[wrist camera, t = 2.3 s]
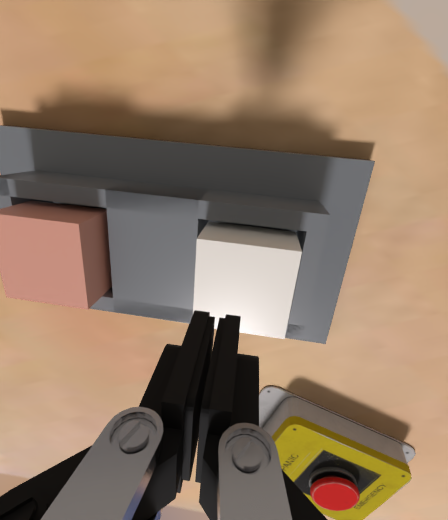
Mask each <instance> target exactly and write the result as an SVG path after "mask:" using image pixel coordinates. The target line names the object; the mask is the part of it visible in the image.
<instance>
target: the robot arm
mask: <svg viewBox="0 0 448 520" xmlns="http://www.w3.org/2000/svg"><path fill="white" fill-rule="evenodd" d="M240 319H241V316H236V315H228V314H226V316H225V318H219V322H218V327H217V332H216V336H215V341H214V346H213V336H214V324H215V317H212V316H210V312H205V311H197V310H195V311H194V313H193V316H192V318H191V321H190V324H189V327H188V329H187V332H186V335H185V338H184V340H183V343H182V346H178V345H171V344H167V345H166V346H165V348H164V350H163V352H162V355H161V357H160V359H159V362H158V364H157V366H156V368H155V371H154V373H153V375H152V378H151V380H150V382H149V384H148V387H147V389H146V391H145V394H144V396H143V398H142V400H141V403H140V405H139V407H133V408H129V409H126V410H124V411H122V412H120V413H119V414H117V415H116V416H114V417H113V418H112V419H111V421H110V422H109V423H108V424H107V425H106V427H105V428H104V430H103V431H102V433H101V434H100V435H99V437H98V438H97V440H96V441H95V443H94V444H93V445H92V446H90V447H88V448H86V449H85V450H83V451H81V452H79V453H77V454H75V455H73V456H72V457H70V458H68V459H66V460H64V461H62V462H61V463H59V464H57V465H55V466H53V467H51V468H50V469H48V470H46V471H44V472H42V473H40V474H39V475H37V476H35V477H33V478H31V479H29V480H28V481H26V482H24V483H22V484H20V485H18V486H17V487H15V488H13V489H11V490H10V491H8V492H7V493H5V494H4V495H2V496H1V497H0V520H160V517H161V514H162V510H163V507H165V506H166V505H167V504H169V503H170V502H171V501H173V500H174V499H175V498H176V493H180V491H181V487H182V482H183V480H187V481H190V477H191V473H192V467H193V462H194V457H195V452H196V447H197V442H198V452H197V466H196V480H195V482H199V483H201V486H200V498H199V503H200V505H201V506H202V508H203V509H204V511H205V513H206V514H207V516H208V518H209V519H210V520H327V519H326V518H325V516H324V515H323V514H322V513H321V512H320V511H319V510H318V509H317V508H316V506H315V505H314V504H313V503H312V502H311V501H310V500H309V499H308V498H307V497H306V495H305V494H304V493H303V492H302V491H301V490H300V489H299V488H298V487H297V485H296V484H295V483H294V482H293V481H292V480H291V479H290V478H289V477H288V475H287V474H286V473H285V472H284V471H283V470H282V469H281V464H280V460H279V455H278V450H277V447H276V445H275V442H274V440H273V439H272V437H271V436H270V435H269V433H267V432H266V431H265V430H264V429H262V428H261V427H259V357H258V356H251V355H244V354H237V352H238V341H239V330H240ZM212 348H213V351H212ZM198 437H199V438H198Z"/></svg>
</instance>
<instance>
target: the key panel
mask: <svg viewBox="0 0 448 520" xmlns="http://www.w3.org/2000/svg"><path fill="white" fill-rule="evenodd" d="M374 162H375V161H371V160H363V159H353V158H342V157H332V156H321V155H311V154H300V153H290V152H279V151H269V150H258V149H248V148H237V147H227V146H216V145H206V144H195V143H185V142H174V141H163V140H153V139H142V138H132V137H121V136H111V135H100V134H90V133H79V132H69V131H58V130H48V129H37V128H27V127H16V126H6V125H0V173H1V175H0V209H2V208H5V207H9V206H13V205H17V204H20V203H24V202H28V201H41V202H49V203H58V204H66V205H74V206H83V207H91V208H100V209H107V221H108V235H109V249H110V263H111V276H112V287H111V288H110V289H109V290H108V291H107V292H106V293H105V294H104V295H103V296H102V297H101V298H100V299H99V300H98V301H97V302H95V303H94V304H93V305H92V306H91V307H90V309H96V310H103V311H110V312H116V313H123V314H130V315H136V316H143V317H150V318H156V319H163V320H169V321H176V322H183V323H189V324H190V321H191V318H192V316H193V302H194V282H195V262H196V242H197V237H198V236H199V235H200V233H201V232H202V230H203V229H204V227H205V226H206V224H207V223H208V222H209V221H210V222H218V223H227V224H235V225H244V226H252V227H260V228H269V229H277V230H286V231H294V232H296V234H297V237H298V240H299V244H300V247H301V250H302V254H301V259H300V264H299V269H298V274H297V279H296V284H295V289H294V294H293V299H292V304H291V309H290V314H289V319H288V324H287V329H286V334H285V338H289V339H296V340H303V341H309V342H316V343H323V344H326V340H327V336H328V333H329V329H330V325H331V322H332V318H333V314H334V310H335V307H336V303H337V299H338V296H339V292H340V288H341V285H342V281H343V277H344V273H345V270H346V266H347V262H348V259H349V255H350V251H351V248H352V244H353V240H354V236H355V233H356V229H357V225H358V222H359V218H360V214H361V210H362V207H363V203H364V199H365V196H366V192H367V188H368V185H369V181H370V177H371V173H372V170H373V166H374Z"/></svg>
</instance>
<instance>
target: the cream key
mask: <svg viewBox="0 0 448 520" xmlns="http://www.w3.org/2000/svg"><path fill="white" fill-rule="evenodd" d="M301 254H302V250H301V247H300V244H299V240H298V237H297V234H296V232H294V231H286V230H277V229H269V228H260V227H252V226H244V225H235V224H227V223H218V222H210V221H209V222H208V223H207V224H206V226H205V227H204V229H203V230H202V232H201V233H200V235H199V236H198V237H197V242H196V262H195V282H194V302H193V313H194V311H195V310H197V311H205V312H210V316H212V317H215V324H214V329H217V327H218V322H219V318H225V316H226V314H228V315H236V316H241V319H240V330H239V332H241V333H247V334H254V335H261V336H267V337H274V338H281V339H285V334H286V329H287V324H288V319H289V314H290V309H291V304H292V299H293V294H294V289H295V284H296V279H297V274H298V269H299V264H300V259H301Z"/></svg>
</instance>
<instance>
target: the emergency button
mask: <svg viewBox="0 0 448 520" xmlns="http://www.w3.org/2000/svg"><path fill="white" fill-rule="evenodd" d="M259 427H261V428H262V429H264V430H265V431H266V432H267V433H269V435H270V436H271V437H272V439H273V440H274V442H275V445H276V447H277V450H278V455H279V460H280V464H281V469H282V470H283V471H284V472H285V473H286V474H287V475H288V477H289V478H290V479H291V480H292V481H293V482H294V483H295V484H296V485H297V487H298V488H299V489H300V490H301V491H302V492H303V493H304V494H305V495H306V497H307V498H308V499H309V500H310V501H311V502H312V503H313V504H314V505H315V506H316V508H317V509H318V510H319V511H320V512H321V513H322V514H324V515H326V516H328V517H331V518H333V519H335V520H363V519H364V518H366V517H367V516H368V515H369V514H371V513H372V512H373V511H374V510H375V509H377V508H378V507H379V506H380V505H382V504H383V503H384V502H385V501H387V500H388V499H389V498H390V497H391V496H393V495H394V494H395V493H396V492H398V491H399V490H400V489H401V488H403V487H404V486H405V485H406V484H407V483H409V482H410V480H411V479H412V478H411V473H410V469H409V466H408V464H407V463H408V462H409V461H410V460H411V459H413V458H414V456H415V451H414V449H413V448H412V447H411V446H410V445H408V444H406V443H403V442H401V441H399V440H397V439H394V438H392V437H390V436H388V435H385V434H383V433H381V432H378V431H376V430H374V429H372V428H369V427H367V426H365V425H363V424H360V423H358V422H356V421H354V420H351V419H349V418H347V417H345V416H342V415H340V414H338V413H336V412H333V411H331V410H329V409H326V408H324V407H322V406H320V405H317V404H315V403H313V402H311V401H308V400H306V399H304V398H302V397H299V396H297V395H295V394H293V393H290V392H288V391H286V390H284V389H281V388H279V387H275V386H266V387H265V388H263V389H262V390H261V392H260V393H259Z"/></svg>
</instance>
